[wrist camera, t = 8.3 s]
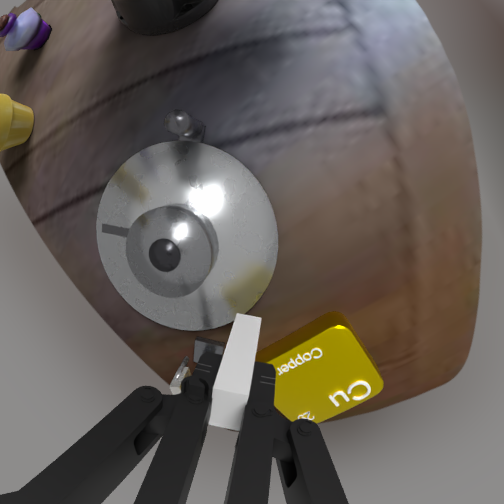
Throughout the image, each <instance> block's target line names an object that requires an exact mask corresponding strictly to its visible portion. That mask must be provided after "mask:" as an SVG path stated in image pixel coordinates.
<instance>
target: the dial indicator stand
mask: <svg viewBox="0 0 504 504" xmlns="http://www.w3.org/2000/svg"><path fill="white" fill-rule="evenodd" d="M224 345H225V343H223V342H219V341H214V340H210V339H206V338H202V337H198V336H197V338H196V340H195V349H194V362H197V363H198V361H199V358H200V356H201V355H203V354H204V353H205V352H207V351H208V352H212V353H216V354H220V355H223V351H224ZM188 361H189V357H187V356H186V357H184V359H183V361H182V363H181V365H180V367H179V369H178V371H177V372H176V374H175V376H174V378H173V380H172V382H171V384H170V386H169V388H170V390H171V392H172V394H173V395H176V394H179V393H181V381H182V380H183V379H184V378H186V377H188V376H192V375H191V372H190V369H189V367H186V365H187V363H188Z"/></svg>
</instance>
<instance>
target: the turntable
mask: <svg viewBox="0 0 504 504" xmlns="http://www.w3.org/2000/svg"><path fill="white" fill-rule="evenodd" d="M164 126H165V128H166V130H167V131H169V132H171V133H174V134H177V135H180V136H179V141H169V142H163V143H159V144H156V145H152V146H150V147H148V148H146V149H143V150H141V151H140V152H138V153H136V154H135V155H133V156H132V157H130V158H129V159H128V160H127V161H126V162H125V163H124V164H122V165H121V167H120V168H119V169H118V170H117V171H116V172H115V174H114V175H113V177H112V178H111V180H110V181H109V183H108V184H107V187H106V189H105V191H104V193H103V195H102V198H101V201H100V204H99V209H98V214H97V224H96V233H97V244H98V250H99V254H100V257H101V261H102V264H103V266H104V269H105V271H106V273H107V275H108V277H109V279H110V281H111V282H112V284H113V285H114V287H115V288H116V290H117V291H118V292H119V294H120V295H121V296H122V297H123V298H124V299H125V300H126V301H127V302H128V303H129V304H130V305H131V306H132V307H133V308H134V309H136V310H137V311H138V312H139V313H141V314H142V315H144V316H146V317H147V318H149V319H151V320H153V321H155V322H157V323H159V324H162V325H165V326H168V327H171V328H175V329H180V330H191V331H195V330H207V329H213V328H217V327H220V326H223V325H226V324H228V323H230V322H232V321H234V320H235V318H236V315H237V313H239V314H245V313H246V312H247V311H248V310H249V309H251V308H252V307H253V306H254V305H255V304H256V302H257V301H258V300H259V299H260V298H261V296H262V295H263V293H264V291H265V290H266V288H267V287H268V285H269V282H270V280H271V278H272V275H273V272H274V269H275V265H276V260H277V253H278V229H277V222H276V218H275V214H274V211H273V207H272V205H271V202H270V200H269V198H268V196H267V194H266V192H265V190H264V189H263V187H262V185H261V184H260V182H259V181H258V180H257V178H256V177H255V176H254V175H253V174H252V172H251V171H250V170H249V169H248V168H247V167H245V166H244V165H243V164H242V163H241V162H240V161H238V160H237V159H236V158H234V157H233V156H231V155H230V154H228V153H226V152H224V151H222V150H220V149H218V148H215V147H212V146H209V145H206V144H203V138H204V132H205V127H206V126H204V125H203V123H202V122H201V121H199V120H197V119H196V118H194V117H192V116H191V115H189V114H187V113H185V112H183V111H182V110H172V111H171V112H169V113H168V114H167V115H166V117H165V120H164ZM173 203H180V204H186V205H189V206H192V207H194V208H196V209H198V210H199V211H200V212H202V213H203V214H204V215H205V216H206V217H207V218H208V219H209V220H210V222H211V223H212V225H213V227H214V229H215V231H216V234H217V237H218V243H219V253H218V258H217V261H216V264H215V266H214V268H213V269H212V270H211V272H210V273H209V275H208V276H207V278H206V279H205V280H204V282H203V283H202V285H201V286H200V287H199V288H198V289H197V290H195V291H194V292H192V293H191V294H189V295H186V296H183V297H178V298H168V297H163V296H159V295H157V294H155V293H153V292H151V291H149V290H148V289H146V288H145V287H144V286H143V285H142V284H141V283H140V282H139V281H138V280H137V279H136V277H135V276H134V275H133V273H132V271H131V269H130V267H129V264H128V261H127V257H126V239H127V235H128V232H129V229H130V227H131V226H132V224H133V223H134V221H135V220H136V219H137V218H138V217H139V216H140V215H142V214H143V213H145V212H147V211H149V210H152V209H155V208H158V207H161V206H164V205H168V204H173Z"/></svg>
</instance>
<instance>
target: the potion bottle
mask: <svg viewBox="0 0 504 504" xmlns="http://www.w3.org/2000/svg"><path fill="white" fill-rule="evenodd" d="M16 18H17V17H16V14H13V13H10V14H8V15H3V16H1V18H0V37H4V36H5V35H7V37H6V39H5V42H4V45H5V49H6V51H18V50H20V49H34V50H37V49H39V48H41V47H42V46H43V45H44V44H45V42H46V41H47V40H48V39H49V36H50V33H51V31H52V28H51V26H50V25H48V24H47V23H46V22H44V21H43V20H42V19H41V15H40V14H38V13H37V12H36V11H35V10H33V9H32V8H30V9H28V10H26V11H25V12H23V13H21V14H20V16H19V17H18V18H17V19H16Z"/></svg>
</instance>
